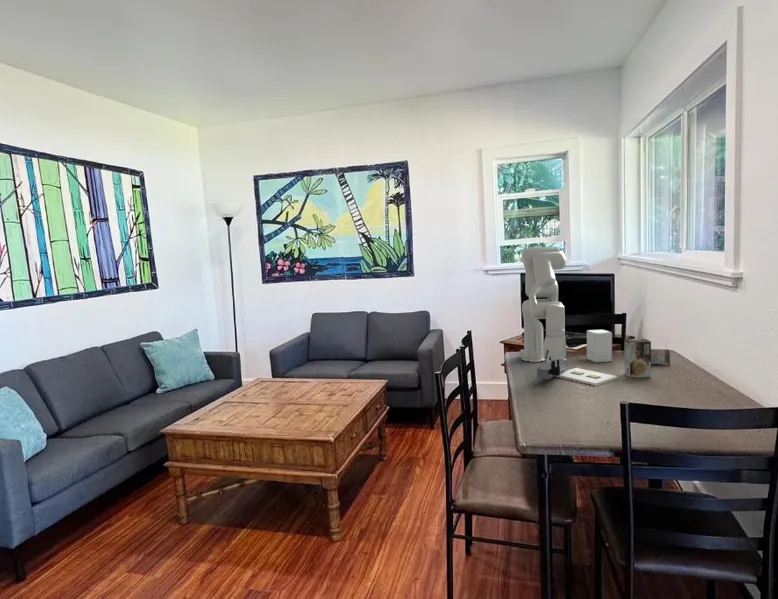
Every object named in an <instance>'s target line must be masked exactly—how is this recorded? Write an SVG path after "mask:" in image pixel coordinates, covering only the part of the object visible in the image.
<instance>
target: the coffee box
mask: <svg viewBox="0 0 778 599" xmlns="http://www.w3.org/2000/svg"><path fill="white" fill-rule="evenodd" d="M651 349H652V341H650V340H649V339H646V338H629V339H628V338H627V339H625V338H624V360H623V361H624V369H623V370H624V372H623V373H624V375H625V374H626V375H625V376H627V377H628V376H629V377H636V378H651V377H652V365H651Z"/></svg>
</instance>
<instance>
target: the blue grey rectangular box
mask: <svg viewBox="0 0 778 599" xmlns="http://www.w3.org/2000/svg"><path fill="white" fill-rule="evenodd" d="M671 352H672V351H671V349H668V348H665V349H664V348H651V364H663V365H662V366H671V356H672V355H671ZM667 364H669V365H667Z"/></svg>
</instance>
